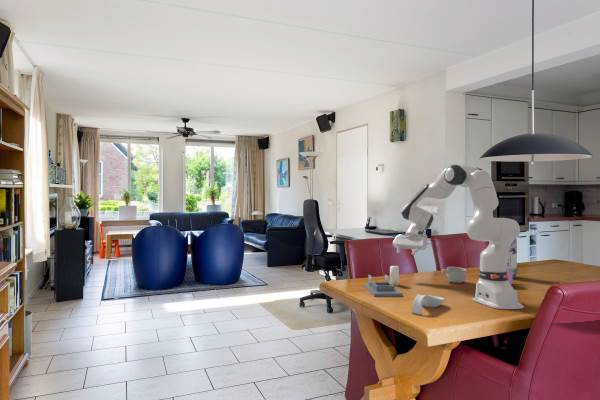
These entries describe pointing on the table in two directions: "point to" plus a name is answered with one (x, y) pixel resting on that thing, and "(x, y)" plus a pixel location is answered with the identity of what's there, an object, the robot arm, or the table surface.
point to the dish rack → (382, 288)
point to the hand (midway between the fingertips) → (405, 253)
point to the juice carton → (512, 259)
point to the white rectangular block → (394, 275)
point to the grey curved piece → (425, 303)
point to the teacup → (455, 274)
